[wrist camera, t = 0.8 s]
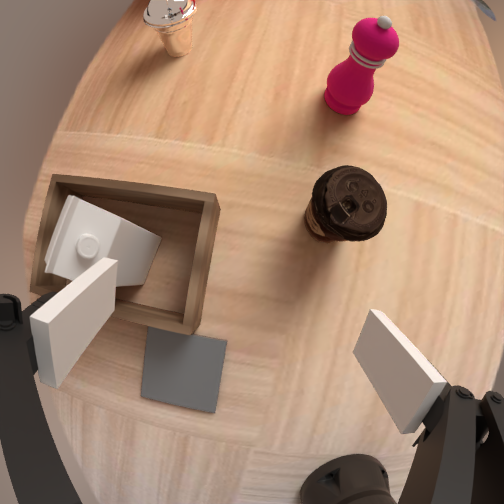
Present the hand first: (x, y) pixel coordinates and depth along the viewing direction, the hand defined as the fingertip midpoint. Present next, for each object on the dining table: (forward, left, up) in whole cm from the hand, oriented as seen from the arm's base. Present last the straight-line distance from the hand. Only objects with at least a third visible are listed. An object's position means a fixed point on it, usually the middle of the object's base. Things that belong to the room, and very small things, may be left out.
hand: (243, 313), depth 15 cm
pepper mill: (+32, -10, -27) cm, 43 cm away
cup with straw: (+38, +19, -27) cm, 50 cm away
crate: (+2, +17, -27) cm, 31 cm away
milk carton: (+2, +17, -27) cm, 32 cm away
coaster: (-13, +7, -27) cm, 30 cm away
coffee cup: (+11, -9, -27) cm, 31 cm away
